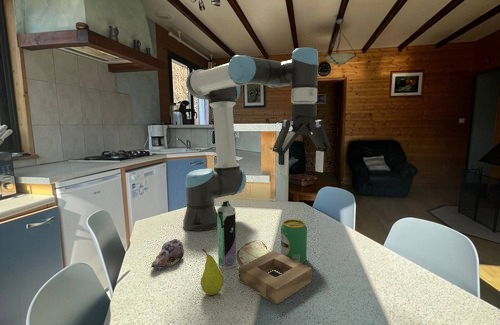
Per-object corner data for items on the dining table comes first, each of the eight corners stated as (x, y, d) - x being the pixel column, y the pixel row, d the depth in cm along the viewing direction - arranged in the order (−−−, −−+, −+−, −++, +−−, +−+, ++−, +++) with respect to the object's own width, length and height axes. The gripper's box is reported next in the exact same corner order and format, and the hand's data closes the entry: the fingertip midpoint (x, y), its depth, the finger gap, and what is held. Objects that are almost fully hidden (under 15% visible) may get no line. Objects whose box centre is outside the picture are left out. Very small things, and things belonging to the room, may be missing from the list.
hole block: (238, 280, 75) (238, 266, 74) (273, 262, 84) (273, 250, 83) (276, 305, 64) (276, 289, 64) (311, 281, 74) (311, 268, 73)
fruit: (227, 295, 68) (226, 250, 67) (206, 303, 65) (204, 256, 64) (217, 283, 73) (216, 241, 71) (197, 291, 70) (195, 247, 68)
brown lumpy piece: (159, 275, 78) (158, 255, 77) (142, 268, 82) (141, 249, 81) (189, 257, 88) (188, 239, 87) (172, 252, 92) (171, 235, 91)
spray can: (233, 269, 80) (232, 204, 77) (216, 268, 81) (214, 203, 78) (238, 260, 85) (237, 199, 83) (221, 259, 87) (220, 198, 84)
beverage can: (276, 256, 88) (276, 221, 86) (297, 251, 91) (297, 217, 89) (289, 268, 81) (289, 230, 79) (311, 262, 84) (312, 225, 82)
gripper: (275, 101, 72) (274, 179, 75) (344, 104, 83) (340, 171, 87) (261, 103, 79) (261, 175, 82) (327, 105, 90) (324, 168, 93)
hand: (302, 173), depth 84 cm, fingers open, 13 cm apart
